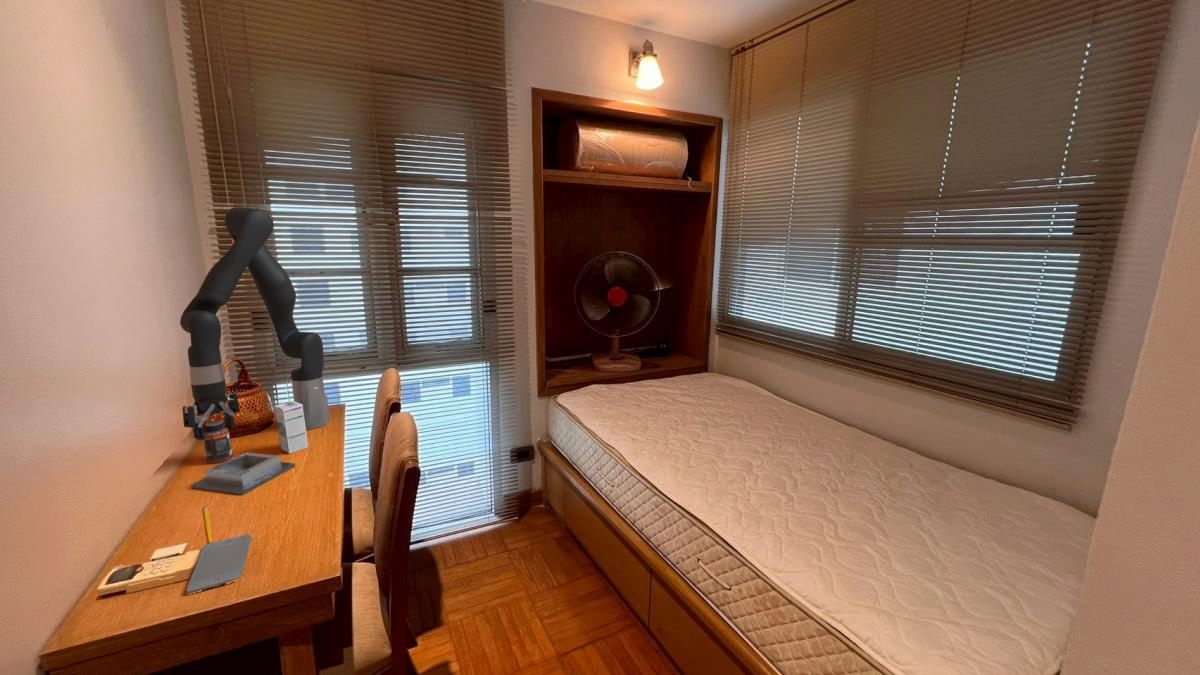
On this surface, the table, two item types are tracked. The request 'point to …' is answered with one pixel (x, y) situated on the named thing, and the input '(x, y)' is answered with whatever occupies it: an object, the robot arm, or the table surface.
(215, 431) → the supplement bottle
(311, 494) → the table surface
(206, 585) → the phone
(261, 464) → the socket
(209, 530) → the pencil
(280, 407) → the syrup box
